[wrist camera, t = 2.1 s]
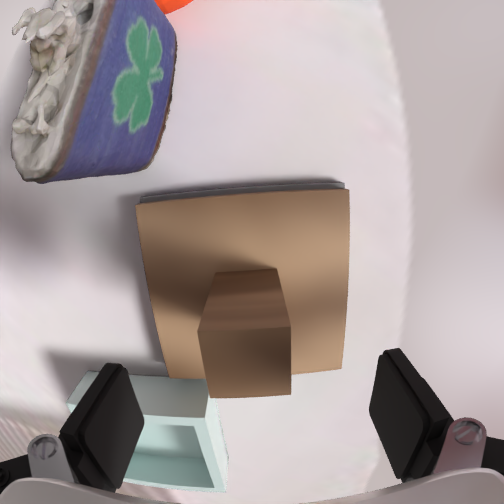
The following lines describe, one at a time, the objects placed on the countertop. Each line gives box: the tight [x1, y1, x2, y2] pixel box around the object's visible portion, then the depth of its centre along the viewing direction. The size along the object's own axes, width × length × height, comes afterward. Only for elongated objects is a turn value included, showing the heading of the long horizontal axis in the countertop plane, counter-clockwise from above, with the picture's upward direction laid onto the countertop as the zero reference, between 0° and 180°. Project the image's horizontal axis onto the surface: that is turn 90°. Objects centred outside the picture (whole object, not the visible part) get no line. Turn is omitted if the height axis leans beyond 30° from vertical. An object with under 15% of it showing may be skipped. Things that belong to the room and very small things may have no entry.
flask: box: [11, 0, 177, 184], centre depth 9 cm, size 9×3×11 cm, turn 171°
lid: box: [135, 189, 350, 398], centre depth 14 cm, size 11×11×7 cm
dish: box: [66, 371, 228, 492], centre depth 19 cm, size 10×10×4 cm
